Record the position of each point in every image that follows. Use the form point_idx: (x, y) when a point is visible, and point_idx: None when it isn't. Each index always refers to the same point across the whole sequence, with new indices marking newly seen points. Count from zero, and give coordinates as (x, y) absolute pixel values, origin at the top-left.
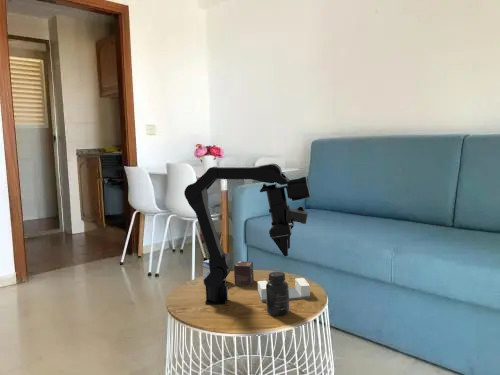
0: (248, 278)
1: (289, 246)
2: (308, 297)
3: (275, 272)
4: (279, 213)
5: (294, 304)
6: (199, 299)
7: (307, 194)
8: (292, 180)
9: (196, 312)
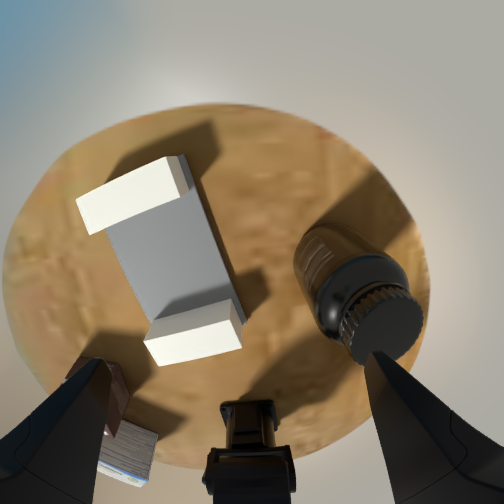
0: (113, 382)
1: (98, 369)
2: (186, 161)
3: (367, 346)
4: None
5: (255, 209)
6: None
7: None
8: None
9: (322, 426)
